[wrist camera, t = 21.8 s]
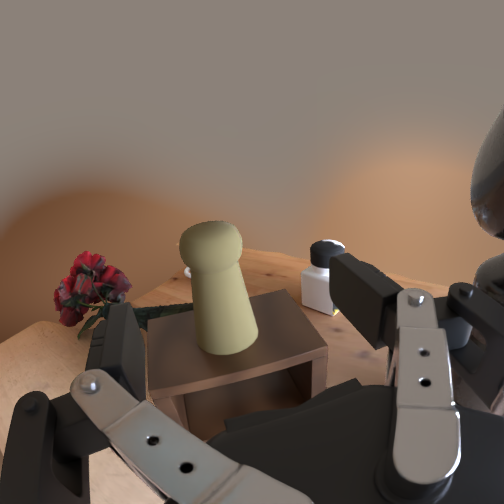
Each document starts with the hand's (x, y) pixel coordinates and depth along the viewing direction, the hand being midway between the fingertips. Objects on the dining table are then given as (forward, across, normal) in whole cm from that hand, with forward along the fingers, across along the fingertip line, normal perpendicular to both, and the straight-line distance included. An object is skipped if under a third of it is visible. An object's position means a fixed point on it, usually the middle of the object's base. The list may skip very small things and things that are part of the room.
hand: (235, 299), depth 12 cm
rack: (+14, -1, +28) cm, 31 cm away
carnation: (+41, +14, +28) cm, 51 cm away
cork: (+14, -1, +13) cm, 19 cm away
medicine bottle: (+35, -22, +28) cm, 50 cm away
